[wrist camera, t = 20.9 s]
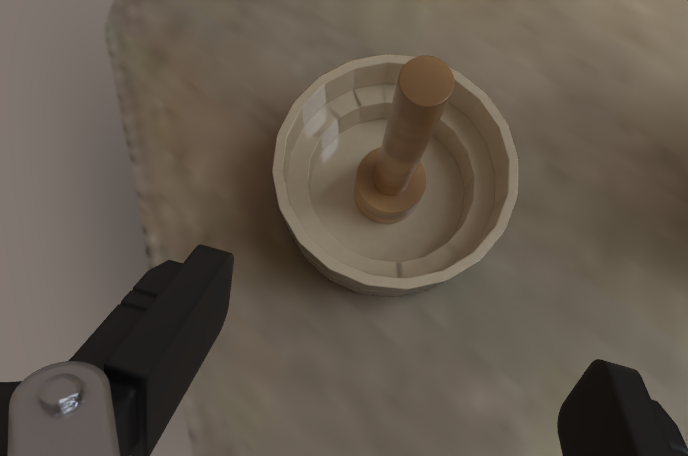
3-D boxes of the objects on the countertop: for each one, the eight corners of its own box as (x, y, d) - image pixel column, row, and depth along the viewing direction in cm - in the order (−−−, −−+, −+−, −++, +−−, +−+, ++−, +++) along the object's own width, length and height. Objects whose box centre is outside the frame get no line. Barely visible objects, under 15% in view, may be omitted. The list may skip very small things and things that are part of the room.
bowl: (375, 64, 37) (383, 12, 31) (528, 187, 35) (567, 156, 29) (240, 201, 34) (221, 173, 29) (397, 342, 33) (411, 342, 27)
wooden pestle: (383, 149, 35) (419, 9, 20) (431, 190, 34) (506, 77, 19) (340, 194, 34) (346, 83, 19) (390, 237, 33) (434, 156, 19)
